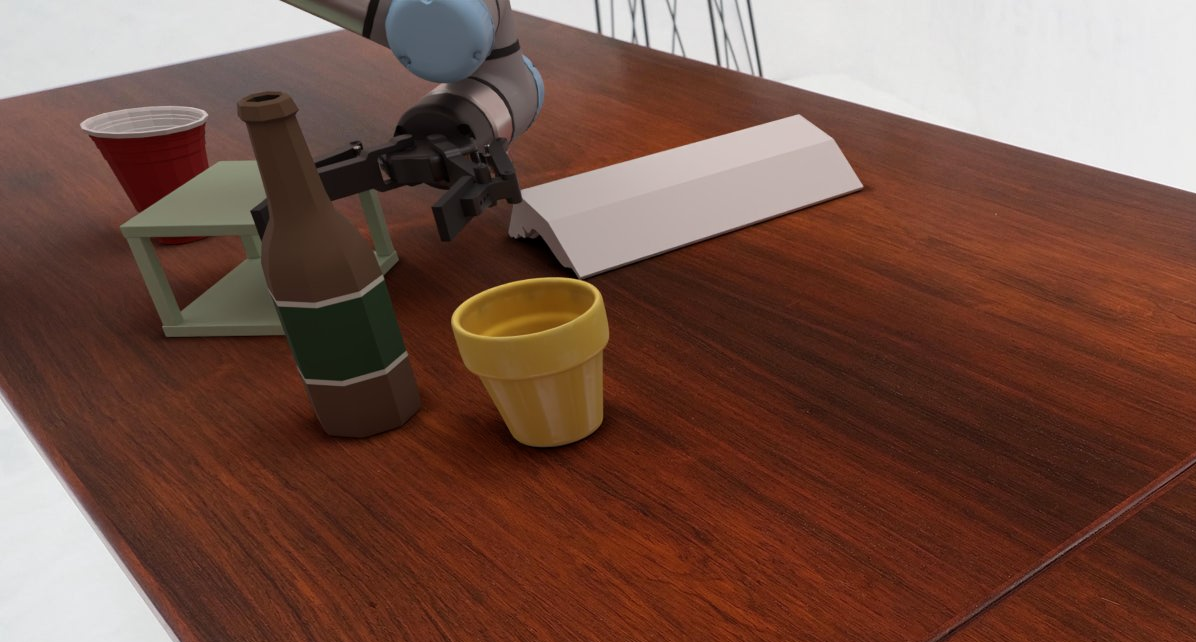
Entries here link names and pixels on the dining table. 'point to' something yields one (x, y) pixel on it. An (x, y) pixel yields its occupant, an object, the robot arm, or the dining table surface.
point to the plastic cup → (152, 151)
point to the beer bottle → (326, 285)
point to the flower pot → (538, 355)
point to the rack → (224, 210)
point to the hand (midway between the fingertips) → (350, 226)
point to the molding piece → (683, 195)
